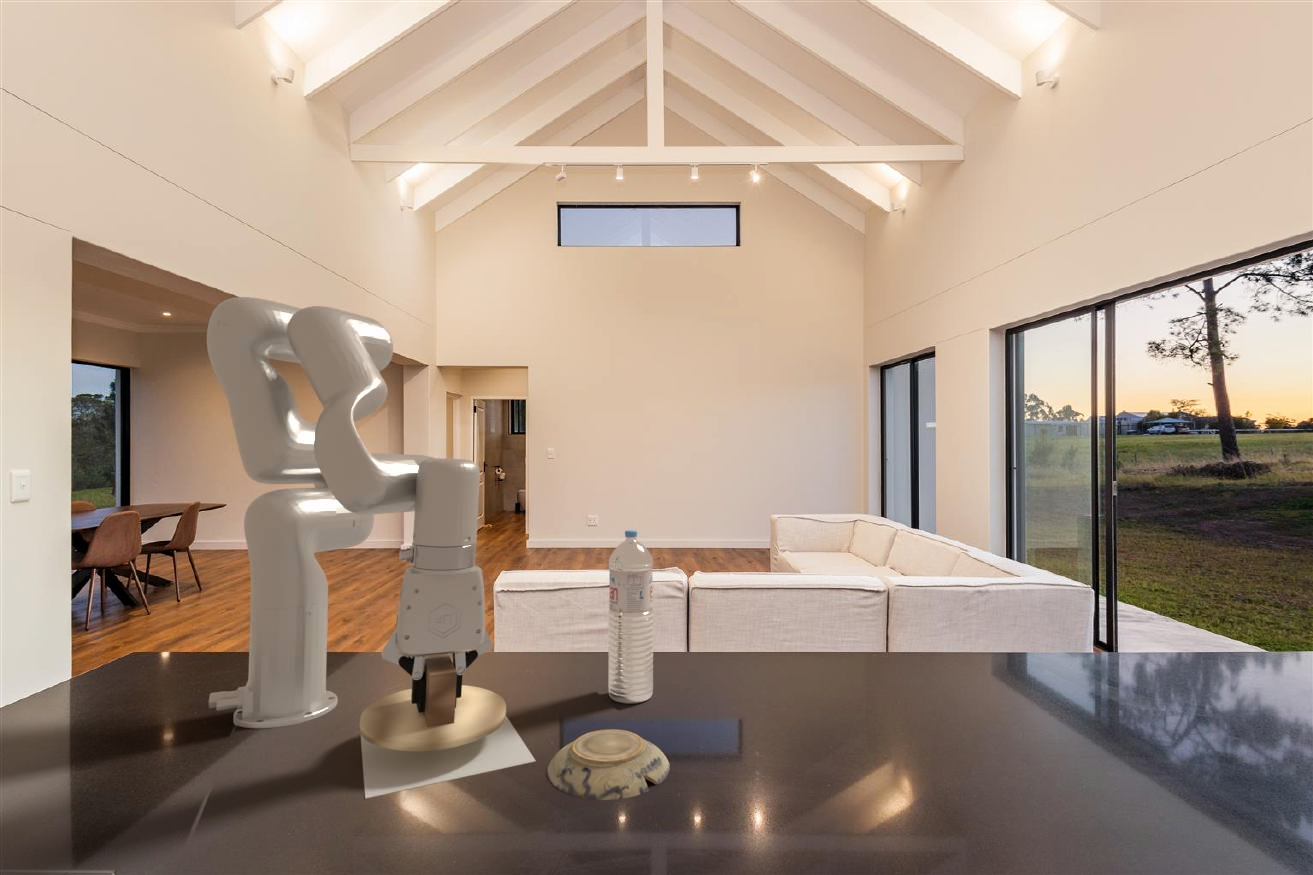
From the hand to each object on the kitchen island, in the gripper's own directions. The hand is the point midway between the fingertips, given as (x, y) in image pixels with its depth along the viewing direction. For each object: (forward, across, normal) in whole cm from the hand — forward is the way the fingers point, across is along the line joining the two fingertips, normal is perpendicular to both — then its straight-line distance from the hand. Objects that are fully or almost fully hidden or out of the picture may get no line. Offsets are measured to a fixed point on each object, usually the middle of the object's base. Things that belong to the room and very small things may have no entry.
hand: (436, 704), depth 77 cm
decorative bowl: (+5, +17, -15) cm, 23 cm away
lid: (+2, 0, 0) cm, 2 cm away
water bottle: (+5, +29, +5) cm, 30 cm away
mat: (+5, +1, -1) cm, 6 cm away
